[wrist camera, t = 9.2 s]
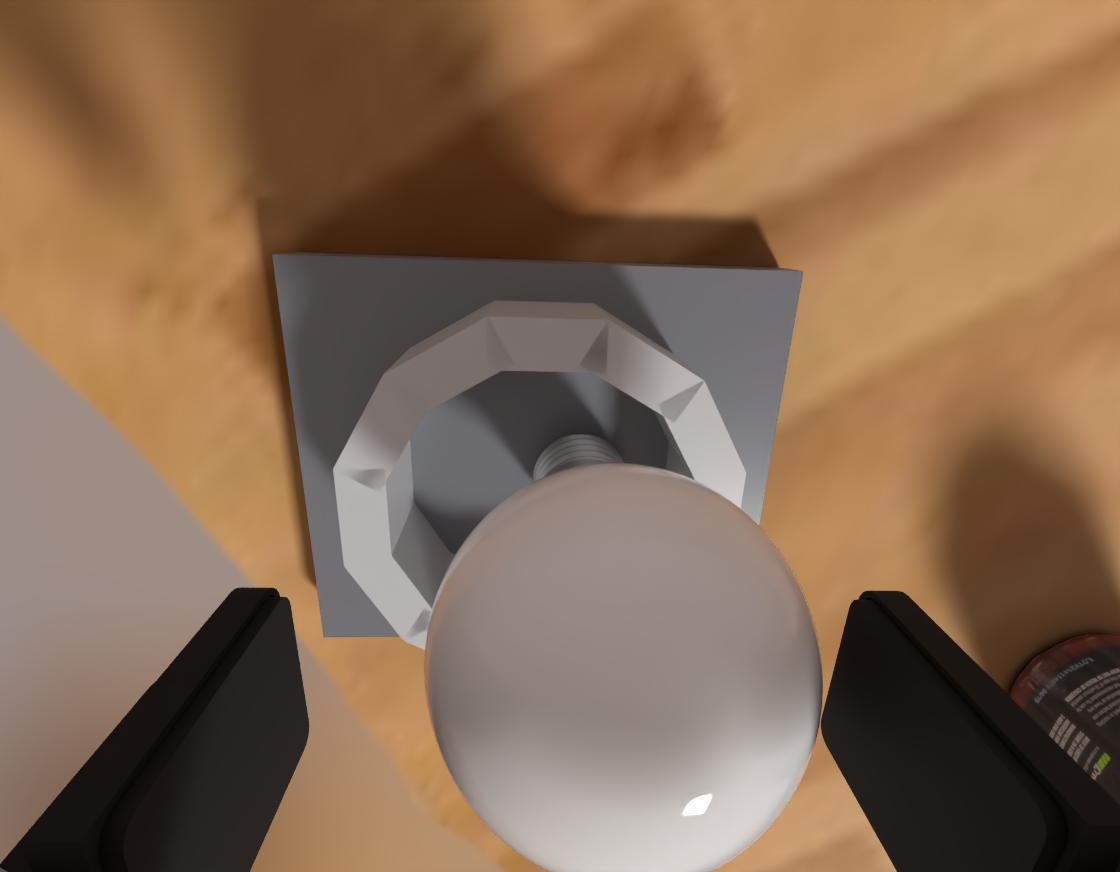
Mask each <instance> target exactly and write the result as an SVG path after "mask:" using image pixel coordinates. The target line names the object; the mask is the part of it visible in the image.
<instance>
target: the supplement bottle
mask: <svg viewBox="0 0 1120 872" xmlns="http://www.w3.org/2000/svg"><path fill="white" fill-rule="evenodd" d="M1010 697H1011V698H1012V699H1013V700H1014V701H1015V702H1016V703H1017V704H1018V705H1019V706H1020V707H1021V708H1022V709H1023V710H1024V711H1025V712H1026V713H1027V714H1028V715H1029V716H1030V717H1031V718H1032V719H1033V720H1034V721H1035V722H1036V723H1037V724H1038V725H1039V726H1040V727H1041V728H1042V729H1043V730H1044V731H1045V732H1046V733H1047V734H1048V735H1049V736H1050V737H1051V738H1052V739H1053V740H1054V741H1055V742H1056V743H1057V744H1058V745H1059V746H1060V747H1061V748H1062V749H1063V750H1064V751H1065V752H1066V753H1067V754H1068V755H1070V756H1071V757H1072V758H1073V759H1074V760H1075V761H1076V762H1077V763H1078V764H1079V765H1080V766H1081V767H1082V768H1083V769H1084V770H1085V771H1086V772H1087V773H1088V774H1089V775H1090V776H1091V777H1092V778H1093V779H1094V780H1095V781H1096V782H1097V783H1098V784H1099V785H1100V786H1101V787H1102V788H1103V789H1104V790H1105V791H1106V792H1107V793H1108V794H1109V795H1110V796H1111V797H1112V798H1113V799H1114V800H1115V801H1116V802H1117V803H1118V804H1119V805H1120V636H1119V635H1110V634H1088V635H1083V636H1077V637H1074V638H1072V639H1069V640H1067V641H1064V642H1062V643H1058V644H1056V645H1055V646H1053V647H1052V648H1050V649H1048V650H1046V651H1044V652H1043V653H1041V654H1040V655H1038V656H1036V657H1035V658H1033V659H1032V661H1031V662H1030V663H1029V664H1028V665H1027V667H1026V668H1025V669H1024V671H1023V672H1022V673H1021V674H1020V675H1019V677H1018V679H1017V680H1016V681H1015V683H1014V685H1013V687H1012V691H1011V693H1010Z"/></svg>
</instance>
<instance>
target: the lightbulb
mask: <svg viewBox="0 0 1120 872" xmlns="http://www.w3.org/2000/svg"><path fill="white" fill-rule="evenodd" d="M424 676H425V691H426V699H427V706H428V711H429V716H430V721H431V725H432V729H433V732H434V736H435V739H436V742H437V745H438V748H439V751H440V753H441V756H442V758H443V761H444V763H445V765H446V767H447V769H448V771H449V774H450V775H451V777H452V779H453V781H454V783H455V785H456V786H457V788H458V789H459V791H460V793H461V794H462V796H463V797H464V799H465V800H466V801H467V803H468V804H469V806H470V807H471V808H472V809H473V811H474V812H475V813H476V815H477V816H478V817H479V818H480V819H481V820H482V821H483V823H484V824H485V825H486V826H487V827H488V828H489V829H490V830H491V831H492V832H493V833H494V834H495V835H496V836H497V837H499V838H500V839H501V840H502V841H503V842H504V843H505V844H507V845H508V846H509V847H510V848H512V849H513V850H514V851H516V852H517V853H519V854H520V855H521V856H523V857H524V858H526V859H528V860H529V861H531V862H532V863H534V864H536V865H538V866H539V867H541V868H543V869H545V870H547V871H549V872H711V871H713V870H715V869H717V868H719V867H721V866H723V865H724V864H726V863H728V862H729V861H731V860H733V859H734V858H735V857H737V856H738V855H740V854H741V853H742V852H744V851H745V850H746V849H748V848H749V847H750V846H751V845H752V844H753V843H755V842H756V841H757V840H758V839H759V838H760V837H761V836H762V835H763V834H764V833H765V832H766V831H767V830H768V829H769V828H770V827H771V825H772V824H773V823H774V822H775V821H776V820H777V818H778V817H779V816H780V814H781V813H782V812H783V810H784V809H785V808H786V806H787V804H788V803H789V801H790V800H791V798H792V796H793V795H794V793H795V791H796V789H797V788H798V786H799V784H800V782H801V780H802V778H803V775H804V773H805V771H806V768H807V766H808V763H809V761H810V758H811V755H812V752H813V749H814V745H815V741H816V737H817V733H818V728H819V723H820V716H821V708H822V693H823V678H822V663H821V654H820V647H819V642H818V637H817V632H816V628H815V624H814V621H813V617H812V614H811V611H810V608H809V605H808V602H807V600H806V597H805V595H804V593H803V590H802V588H801V586H800V584H799V582H798V580H797V578H796V576H795V574H794V572H793V570H792V569H791V567H790V565H789V564H788V562H787V560H786V559H785V557H784V556H783V555H782V553H781V552H780V550H779V549H778V548H777V546H776V545H775V544H774V542H773V541H772V540H771V539H770V537H769V536H768V535H767V534H766V533H765V532H764V531H763V529H762V528H761V527H760V526H759V525H758V524H757V523H756V522H755V521H754V520H753V519H752V518H751V517H750V516H748V515H747V514H746V513H745V512H744V511H743V510H741V509H740V508H739V507H738V506H737V505H735V504H734V503H733V502H731V501H730V500H728V499H727V498H726V497H724V496H723V495H721V494H720V493H718V492H716V491H715V490H713V489H711V488H709V487H708V486H706V485H704V484H702V483H700V482H698V481H696V480H693V479H691V478H689V477H687V476H684V475H681V474H679V473H676V472H673V471H669V470H666V469H662V468H658V467H654V466H648V465H642V464H634V463H624V462H623V460H622V458H621V456H620V454H619V453H618V451H617V450H616V449H615V448H614V447H613V446H612V445H611V444H610V443H608V442H607V441H605V440H603V439H602V438H599V437H596V436H593V435H588V434H573V435H568V436H565V437H562V438H560V439H558V440H556V441H554V442H553V443H551V444H550V445H549V446H548V447H547V448H546V449H545V450H544V451H543V452H542V454H541V455H540V457H539V458H538V460H537V462H536V465H535V468H534V472H533V482H532V483H530V484H528V485H527V486H525V487H523V488H521V489H520V490H518V491H517V492H515V493H513V494H512V495H511V496H509V497H508V498H506V499H505V500H504V501H502V502H501V503H500V504H499V505H497V506H496V507H495V508H494V509H493V510H492V511H491V512H489V513H488V514H487V515H486V516H485V517H484V518H483V519H482V520H481V521H480V522H479V524H478V525H477V526H476V527H475V528H474V529H473V530H472V532H471V533H470V534H469V535H468V537H467V538H466V539H465V541H464V542H463V544H462V545H461V546H460V548H459V549H458V551H457V553H456V554H455V556H454V558H453V559H452V561H451V563H450V565H449V567H448V569H447V571H446V573H445V575H444V577H443V579H442V582H441V584H440V586H439V589H438V592H437V595H436V597H435V601H434V604H433V608H432V611H431V615H430V620H429V624H428V630H427V636H426V644H425V658H424Z"/></svg>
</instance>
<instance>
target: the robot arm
mask: <svg viewBox="0 0 1120 872" xmlns="http://www.w3.org/2000/svg"><path fill="white" fill-rule="evenodd" d="M821 730H822V735H823V738H824V741H825V743H826V746H827V747H828V749H829V751H830V753H831V754H832V756H833V758H834V760H835V762H836V763H837V765H838V767H839V769H840V771H841V772H842V774H843V776H844V778H845V779H846V781H847V783H848V785H849V787H850V788H851V790H852V792H853V794H854V796H855V797H856V799H857V801H858V803H859V804H860V806H861V808H862V810H863V812H864V813H865V815H866V817H867V819H868V821H869V822H870V824H871V826H872V828H873V829H874V831H875V833H876V835H877V837H878V838H879V840H880V842H881V844H882V845H883V847H884V849H885V851H886V853H887V854H888V856H889V858H890V860H891V862H892V863H893V865H894V867H895V869H896V870H897V872H1120V805H1119V804H1118V803H1117V802H1116V801H1115V800H1114V799H1113V798H1112V797H1111V796H1110V795H1109V794H1108V793H1107V792H1106V791H1105V790H1104V789H1103V788H1102V787H1101V786H1100V785H1099V784H1098V783H1097V782H1096V781H1095V780H1094V779H1093V778H1092V777H1091V776H1090V775H1089V774H1088V773H1087V772H1086V771H1085V770H1084V769H1083V768H1082V767H1081V766H1080V765H1079V764H1078V763H1077V762H1076V761H1075V760H1074V759H1073V758H1072V757H1071V756H1070V755H1068V754H1067V753H1066V752H1065V751H1064V750H1063V749H1062V748H1061V747H1060V746H1059V745H1058V744H1057V743H1056V742H1055V741H1054V740H1053V739H1052V738H1051V737H1050V736H1049V735H1048V734H1047V733H1046V732H1045V731H1044V730H1043V729H1042V728H1041V727H1040V726H1039V725H1038V724H1037V723H1036V722H1035V721H1034V720H1033V719H1032V718H1031V717H1030V716H1029V715H1028V714H1027V713H1026V712H1025V711H1024V710H1023V709H1022V708H1021V707H1020V706H1019V705H1018V704H1017V703H1016V702H1015V701H1014V700H1013V699H1012V698H1011V697H1010V696H1009V695H1008V694H1007V693H1006V692H1005V691H1004V690H1003V689H1002V688H1001V687H1000V686H999V685H998V684H997V683H996V682H995V681H994V680H993V679H992V678H991V677H990V676H989V675H988V674H987V673H986V672H985V671H984V670H983V669H982V668H981V667H980V666H979V665H978V664H976V663H975V662H974V661H973V660H972V659H971V658H970V657H969V656H968V655H967V654H966V653H965V652H964V651H963V650H962V649H961V648H960V647H959V646H958V645H957V644H956V643H955V642H954V641H953V640H952V639H951V638H950V637H949V636H948V635H947V634H946V633H945V632H944V631H943V630H942V629H941V628H940V627H939V626H938V625H937V624H936V623H935V622H934V621H933V620H932V619H931V618H930V617H929V616H928V615H927V614H926V613H925V612H924V611H923V610H922V609H921V608H920V607H919V606H918V605H917V604H916V603H915V602H914V601H913V600H912V599H911V598H910V597H909V596H908V595H906V594H905V593H903V592H900V591H866V592H863V593H862V594H861V595H860V597H859V600H854V601H853V602H852V603H851V605H850V608H849V612H848V616H847V620H846V624H845V627H844V631H843V635H842V639H841V643H840V647H839V651H838V655H837V659H836V663H835V667H834V671H833V675H832V679H831V683H830V687H829V691H828V695H827V699H826V703H825V707H824V711H823V715H822V719H821ZM308 733H309V720H308V713H307V707H306V701H305V694H304V688H303V681H302V675H301V669H300V662H299V656H298V650H297V643H296V637H295V630H294V624H293V618H292V611H291V605H290V601H289V600H288V598H286V597H280V595H279V592H278V591H277V589H275V588H236V589H234V590H233V591H232V592H231V593H230V594H229V595H228V596H227V598H226V599H225V600H224V601H223V602H222V604H221V605H220V606H219V607H218V608H217V610H216V611H215V612H214V613H213V614H212V615H211V617H210V618H209V619H208V620H207V621H206V623H205V624H204V625H203V626H202V628H201V629H200V630H199V631H198V632H197V633H196V634H195V636H194V637H193V638H192V639H191V641H190V642H189V643H188V644H187V645H186V646H185V648H184V649H183V650H182V651H181V652H180V653H179V655H178V656H177V657H176V658H175V659H174V661H173V662H172V663H171V664H170V665H169V667H168V668H167V669H166V670H165V671H164V673H163V674H162V675H161V676H160V677H159V678H158V680H157V681H156V682H155V683H154V684H153V685H152V686H150V688H149V689H148V690H147V691H146V692H145V693H144V694H143V696H142V697H141V698H140V699H139V700H138V702H137V703H136V704H135V705H134V706H133V708H132V709H131V710H130V711H129V712H128V713H127V715H126V716H125V717H124V718H123V719H122V721H121V722H120V723H119V724H118V725H117V726H116V728H115V729H114V730H113V731H112V733H111V734H110V735H109V736H108V737H107V738H106V739H105V741H104V742H103V743H102V744H101V745H100V747H99V748H98V749H97V750H96V751H95V752H94V754H93V755H92V756H91V757H90V758H89V760H88V761H87V762H86V763H85V764H84V766H83V767H82V768H81V769H80V770H79V771H78V773H77V774H76V775H75V776H74V777H73V779H72V780H71V781H70V782H69V783H68V784H67V786H66V787H65V788H64V789H63V790H62V792H61V793H60V794H59V795H58V796H57V797H56V799H55V800H54V801H53V802H52V804H51V805H50V806H49V807H48V808H47V809H46V811H45V812H44V813H43V814H42V815H41V817H40V818H39V819H38V820H37V821H36V822H35V824H34V825H33V826H32V827H31V828H30V829H29V831H28V832H27V833H26V834H25V836H24V837H23V838H22V839H21V840H20V841H19V843H18V844H17V845H16V846H15V847H14V849H13V850H12V851H11V852H10V853H9V854H8V856H7V857H6V858H5V859H4V860H3V861H2V863H1V864H0V872H250V870H251V868H252V865H253V863H254V861H255V859H256V856H257V854H258V852H259V849H260V847H261V845H262V843H263V841H264V838H265V836H266V834H267V832H268V830H269V827H270V825H271V823H272V821H273V818H274V816H275V814H276V812H277V809H278V807H279V805H280V803H281V800H282V798H283V796H284V793H285V791H286V789H287V787H288V784H289V783H290V780H291V778H292V776H293V774H294V771H295V769H296V766H297V764H298V762H299V760H300V758H301V756H302V753H303V751H304V748H305V746H306V743H307V739H308Z"/></svg>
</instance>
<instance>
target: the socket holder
mask: <svg viewBox="0 0 1120 872" xmlns="http://www.w3.org/2000/svg"><path fill="white" fill-rule="evenodd" d="M272 258H273V266H274V273H275V281H276V288H277V295H278V303H279V310H280V318H281V325H282V332H283V340H284V347H285V355H286V362H287V369H288V377H289V384H290V392H291V399H292V406H293V414H294V421H295V429H296V436H297V443H298V451H299V458H300V466H301V473H302V480H303V488H304V495H305V503H306V510H307V517H308V525H309V532H310V540H311V547H312V554H313V562H314V569H315V577H316V584H317V591H318V599H319V606H320V614H321V621H322V628H323V636H324V637H401V638H402V640H403V641H405V642H407V643H410V644H412V645H414V646H417V647H419V648H421V649H423V650H425V644H426V636H427V630H428V624H429V620H430V615H431V611H432V608H433V604H434V601H435V597H436V595H437V592H438V589H439V586H440V584H441V582H442V579H443V577H444V575H445V573H446V571H447V569H448V567H449V565H450V563H451V561H452V559H453V558H454V556H455V554H456V553H457V551H458V549H459V548H460V546H461V545H462V544H463V542H464V541H465V539H466V538H467V537H468V535H469V534H470V533H471V532H472V530H473V529H474V528H475V527H476V526H477V525H478V524H479V522H480V521H481V520H482V519H483V518H484V517H485V516H486V515H487V514H488V513H489V512H491V511H492V510H493V509H494V508H495V507H496V506H497V505H499V504H500V503H501V502H502V501H504V500H505V499H506V498H508V497H509V496H511V495H512V494H513V493H515V492H517V491H518V490H520V489H521V488H523V487H525V486H527V485H528V484H530V483H532V482H533V472H534V468H535V465H536V462H537V460H538V458H539V457H540V455H541V454H542V452H543V451H544V450H545V449H546V448H547V447H548V446H549V445H550V444H551V443H553V442H554V441H556V440H558V439H560V438H562V437H565V436H568V435H573V434H588V435H593V436H596V437H599V438H602V439H603V440H605V441H607V442H608V443H610V444H611V445H612V446H613V447H614V448H615V449H616V450H617V451H618V453H619V454H620V456H621V458H622V460H623V462H624V463H634V464H642V465H648V466H654V467H658V468H662V469H666V470H669V471H673V472H676V473H679V474H681V475H684V476H687V477H689V478H691V479H693V480H696V481H698V482H700V483H702V484H704V485H706V486H708V487H709V488H711V489H713V490H715V491H716V492H718V493H720V494H721V495H723V496H724V497H726V498H727V499H728V500H730V501H731V502H733V503H734V504H735V505H737V506H738V507H739V508H740V509H741V510H743V511H744V512H745V513H746V514H747V515H748V516H750V517H751V518H752V519H753V520H754V521H755V522H756V523H757V524H758V525H759V523H760V517H761V511H762V505H763V500H764V494H765V488H766V483H767V477H768V471H769V465H770V460H771V454H772V448H773V442H774V437H775V431H776V425H777V419H778V414H779V408H780V402H781V396H782V391H783V385H784V379H785V374H786V368H787V362H788V356H789V351H790V345H791V339H792V333H793V328H794V322H795V316H796V310H797V305H798V299H799V293H800V288H801V282H802V276H803V271H798V270H792V269H785V268H773V267H742V266H711V265H680V264H649V263H618V262H587V261H556V260H525V259H494V258H462V257H431V256H400V255H369V254H338V253H307V252H291V253H280V254H272Z"/></svg>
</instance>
